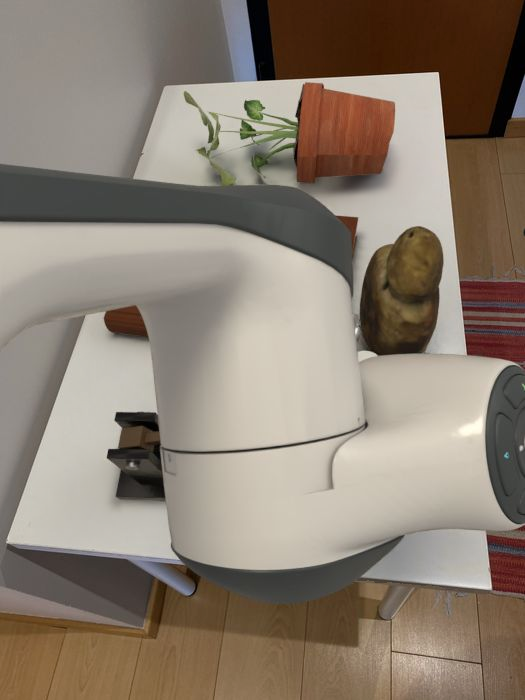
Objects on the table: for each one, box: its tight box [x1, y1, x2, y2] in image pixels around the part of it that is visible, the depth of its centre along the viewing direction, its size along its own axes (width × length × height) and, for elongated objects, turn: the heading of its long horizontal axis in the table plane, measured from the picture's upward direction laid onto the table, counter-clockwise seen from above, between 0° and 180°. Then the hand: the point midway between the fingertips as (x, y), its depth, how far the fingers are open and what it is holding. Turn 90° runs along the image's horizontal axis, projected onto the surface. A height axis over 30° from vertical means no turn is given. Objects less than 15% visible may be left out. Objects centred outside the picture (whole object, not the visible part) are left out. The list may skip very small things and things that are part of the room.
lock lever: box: [117, 426, 161, 453], centre depth 51 cm, size 14×3×3 cm, turn 87°
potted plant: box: [183, 81, 396, 186], centre depth 79 cm, size 16×15×35 cm
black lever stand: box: [106, 411, 166, 501], centre depth 57 cm, size 10×8×12 cm
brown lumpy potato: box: [359, 225, 445, 356], centre depth 58 cm, size 13×8×20 cm, turn 173°
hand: (218, 417), depth 47 cm, fingers closed
